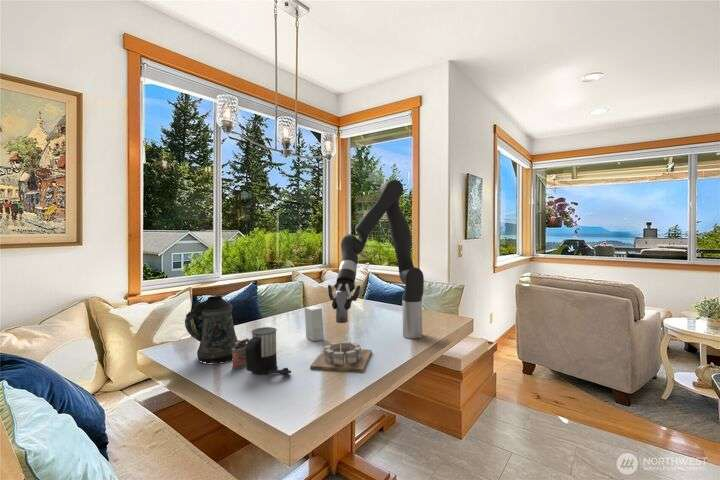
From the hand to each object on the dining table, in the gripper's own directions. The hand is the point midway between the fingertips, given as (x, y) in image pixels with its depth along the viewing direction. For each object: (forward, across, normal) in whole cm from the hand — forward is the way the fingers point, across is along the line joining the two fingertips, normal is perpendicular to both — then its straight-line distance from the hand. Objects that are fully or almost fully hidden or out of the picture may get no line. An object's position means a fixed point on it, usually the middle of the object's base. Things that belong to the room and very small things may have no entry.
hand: (340, 308), depth 132 cm
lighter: (+22, -37, +9) cm, 44 cm away
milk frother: (+24, -23, +6) cm, 34 cm away
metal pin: (+3, 0, +5) cm, 6 cm away
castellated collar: (+14, 0, +16) cm, 21 cm away
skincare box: (-4, -20, +34) cm, 40 cm away
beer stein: (+17, -52, +13) cm, 56 cm away
